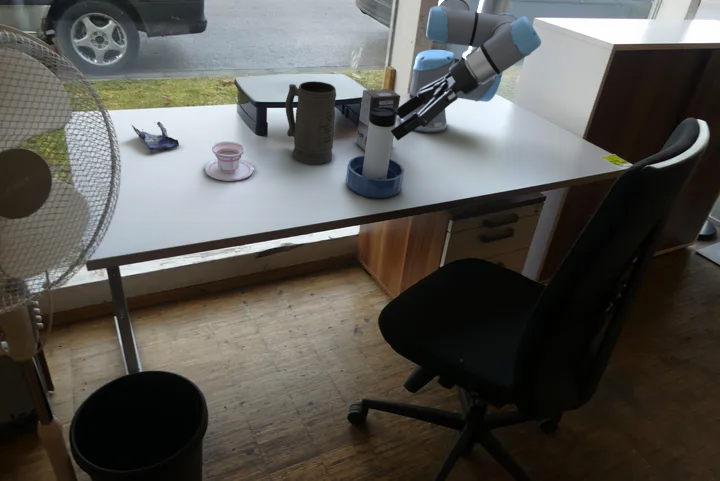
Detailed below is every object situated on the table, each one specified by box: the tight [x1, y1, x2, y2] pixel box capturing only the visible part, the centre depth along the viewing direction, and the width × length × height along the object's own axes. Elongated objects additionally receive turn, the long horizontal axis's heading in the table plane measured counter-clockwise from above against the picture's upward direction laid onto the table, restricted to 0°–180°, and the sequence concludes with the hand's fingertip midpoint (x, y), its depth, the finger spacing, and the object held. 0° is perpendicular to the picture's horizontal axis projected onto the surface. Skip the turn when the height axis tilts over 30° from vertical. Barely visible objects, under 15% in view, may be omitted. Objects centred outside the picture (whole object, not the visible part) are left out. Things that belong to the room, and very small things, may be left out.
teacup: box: [204, 140, 254, 182], centre depth 141 cm, size 12×12×6 cm
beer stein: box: [285, 80, 337, 165], centre depth 151 cm, size 15×11×20 cm
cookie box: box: [355, 88, 401, 151], centre depth 162 cm, size 9×6×16 cm
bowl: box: [345, 154, 405, 199], centre depth 143 cm, size 14×14×6 cm
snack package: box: [131, 121, 180, 154], centre depth 149 cm, size 12×6×12 cm
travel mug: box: [362, 107, 398, 179], centre depth 139 cm, size 6×7×20 cm
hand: (396, 124), depth 135 cm, fingers open, 13 cm apart
